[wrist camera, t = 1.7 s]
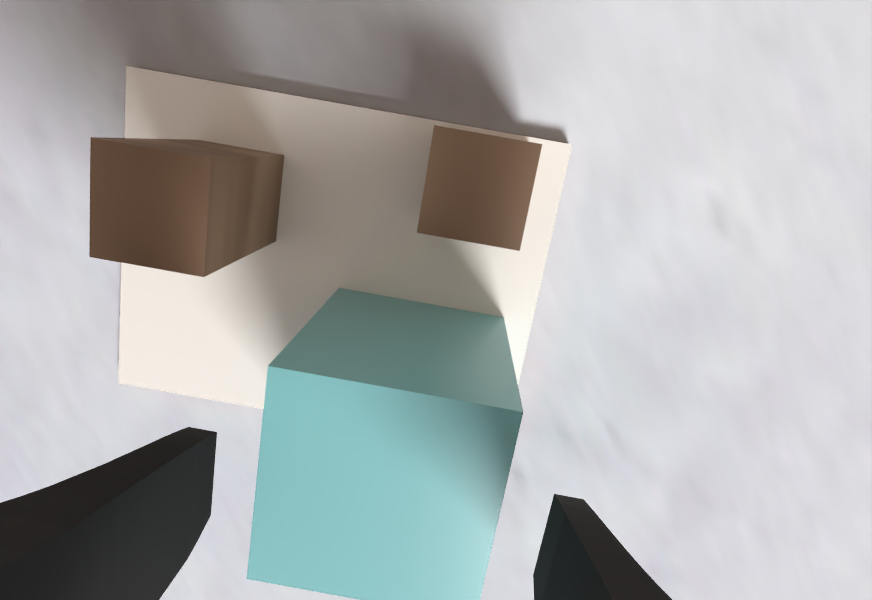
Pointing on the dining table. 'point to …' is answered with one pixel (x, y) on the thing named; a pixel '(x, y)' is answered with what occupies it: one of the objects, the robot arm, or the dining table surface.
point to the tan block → (478, 187)
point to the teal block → (385, 451)
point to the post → (181, 202)
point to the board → (313, 236)
